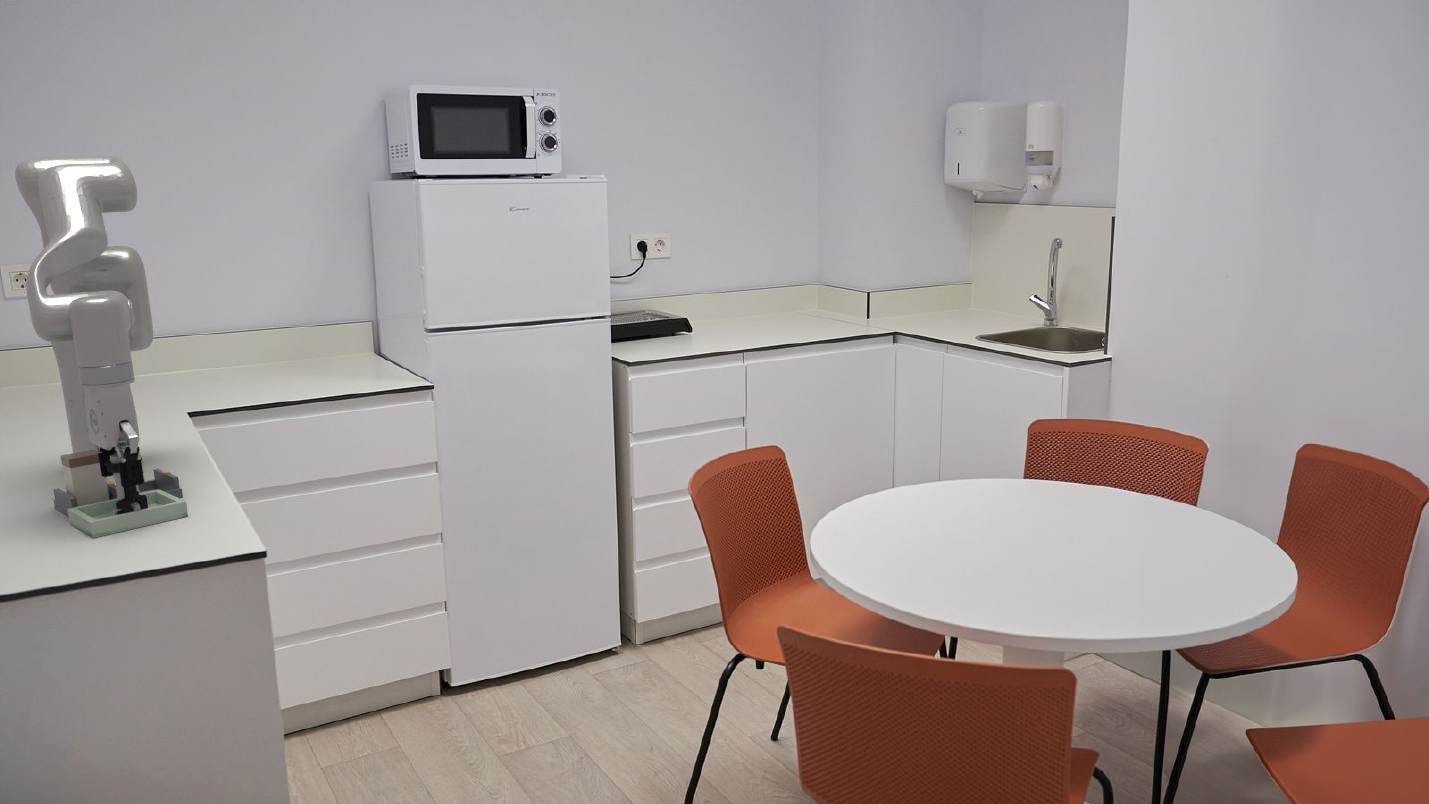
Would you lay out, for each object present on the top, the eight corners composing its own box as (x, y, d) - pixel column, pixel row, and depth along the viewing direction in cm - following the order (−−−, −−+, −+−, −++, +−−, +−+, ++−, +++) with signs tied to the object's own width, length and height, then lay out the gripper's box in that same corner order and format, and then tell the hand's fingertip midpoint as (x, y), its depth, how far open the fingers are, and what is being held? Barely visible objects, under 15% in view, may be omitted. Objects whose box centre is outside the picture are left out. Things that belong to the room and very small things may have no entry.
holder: (54, 508, 186) (51, 486, 185) (158, 486, 197) (155, 466, 197) (75, 520, 178) (72, 498, 177) (183, 497, 189) (180, 476, 188)
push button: (124, 522, 173) (114, 460, 171) (98, 520, 175) (88, 459, 173) (157, 510, 179) (148, 450, 178) (131, 508, 181) (122, 449, 179)
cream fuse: (69, 510, 184) (60, 455, 182) (102, 503, 188) (93, 449, 186) (77, 515, 181) (68, 459, 179) (111, 508, 184) (102, 453, 183)
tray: (69, 523, 176) (67, 508, 175) (161, 503, 186) (159, 489, 185) (93, 538, 168) (90, 522, 167) (188, 516, 177) (186, 501, 177)
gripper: (63, 373, 176) (80, 476, 179) (98, 384, 164) (115, 495, 167) (114, 366, 181) (129, 466, 184) (151, 377, 169) (166, 484, 172)
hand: (122, 480), depth 176 cm, fingers open, 9 cm apart
